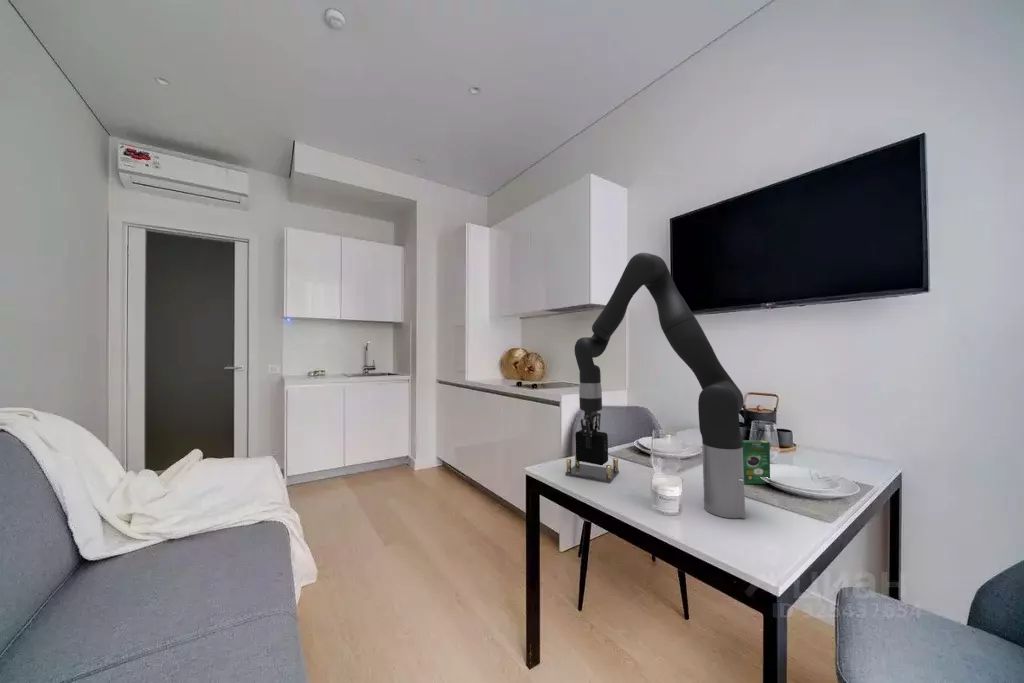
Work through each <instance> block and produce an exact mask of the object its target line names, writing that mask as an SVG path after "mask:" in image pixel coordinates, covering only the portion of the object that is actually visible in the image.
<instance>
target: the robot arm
mask: <svg viewBox="0 0 1024 683" xmlns="http://www.w3.org/2000/svg"><path fill="white" fill-rule="evenodd" d="M643 286H644V287H645V289H647V290H648V292H649V293H650V295H651V297H652V299H653V300H654V303H655V304H656V308H657V313H658V320H659V325H660V328H661V330H662V333H663V334H664V336H665V338H666V340H667V341H668V343H669V345H670V346H671V348H672V349H673V351H674V353H676V355H678V357H679V358H680V359H681V360H682V361H683V362H684V363H685V365H686V366H688V368H689V369H690V370H691V371H692V372H693V374H694V376H695V378H696V379H697V382H698V383H699V385H700V387H701V392H700V393H699V396H698V402H697V404H698V409H697V410H698V424H699V432H700V433H699V434H700V436H701V440H702V441H701V442H702V444H701V445H702V449H701V450H702V480H703V481H702V482H703V483H702V484H703V507H704V508H703V509H705V510H706V512H708V513H710V514H712V515H714V516H717V517H721V518H727V519H746V504H745V502H746V498H745V484H744V471H743V440H744V438H743V436H742V433H741V430H740V429H741V427H740V411H741V410H742V409H743V407H744V402H745V401H744V396H743V393H742V391H741V389H740V388H739V387H738V385H737V384H736V382H734V380H733V379H732V378H731V376H730V375H729V374H728V372H727V371H726V370H725V368H724V367H723V365H722V364H721V362H720V360H719V359H718V356H717V355H716V352H715V351H714V349H713V347H712V345H711V343H710V341H709V339H708V337H707V336H706V334H705V332H704V329H703V328H702V326H701V324H700V323H699V321H698V319H697V318H696V316H695V315H694V313H693V312H692V310H691V309H690V306H689V305H688V304H687V302H686V300H685V299H684V297H683V296H682V295H681V293H680V290H678V288H677V286H676V284H675V281H674V279H673V277H672V274H671V273H670V269H669V267H668V265H667V263H666V262H665V260H664V259H663V258H661V257H660V256H659V255H656V254H652V253H649V252H639V253H636V254H634V255H633V256H631V258H630V259H629V260H628V263H627V265H626V266H625V268H624V270H623V272H622V275H621V277H620V279H619V281H618V282H617V284H616V286H615V289H614V290H613V292H612V294H611V296H610V297H609V299H608V301H607V303H606V305H605V306H604V308H603V309H602V311H601V312H600V314H599V315H598V316H597V318H596V320H595V321H594V322H593V324H592V326H591V330H592V331H591V332H592V333H593V335H592V336H590V337H579V339H577V340H576V342H575V344H574V356H575V359H576V364H577V367H578V370H579V387H578V388H579V389H578V391H579V392H578V395H579V396H578V398H579V410H581V411H584V414H583V418H581V419H580V428H581V430H582V435H583V436H585V438H586V448H592V447H593V439H592V436H593V431H597V432H599V431H600V430H601V417H602V415H601V413H599V411H602V409H603V393H602V392H603V391H602V390H603V389H602V383H601V382H602V381H601V378H602V377H601V374H602V373H601V369H600V368H601V367H600V366H599V365H596V364H595V362H594V359H595V358H598V357H600V356H601V355H603V354H604V352H605V350H606V349H607V347H608V344H609V342H610V339H611V337H612V335H613V334H614V333H615V332H616V331H617V329H618V327H619V326H620V324H621V323H622V322H623V320H624V318H625V315H626V313H627V310H628V306H629V304H630V302H631V300H632V298H633V297H634V296H635V294H637V292H638V291H639V290H640V288H642V287H643ZM587 431H588V433H587Z"/></svg>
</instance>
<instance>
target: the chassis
mask: <svg viewBox="0 0 1024 683" xmlns="http://www.w3.org/2000/svg"><path fill="white" fill-rule="evenodd" d="M565 462H566V466H565V467H566V471H565V477H570V478H571V477H573V478H576V479H577V478H578V479H583V480H588V481H594V482H599V483H605V484H611V483H612V482H613V480H614V479H615V478H616V477H617V476H618V474H619V473H620V470H619V458H615V457H614V458H612V462H613V463H612V465H610V464H607V465H606V467H605V466H604V467H603V466H599V465H598V466H597V465H593V464H592V465H591V464H584V463H581V462H580V461H577V460H576V452H575V453H574V465H573V466H572V459H571V458H567V459H566V461H565ZM612 466H613V467H612Z"/></svg>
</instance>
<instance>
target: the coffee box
mask: <svg viewBox="0 0 1024 683" xmlns="http://www.w3.org/2000/svg"><path fill="white" fill-rule="evenodd" d="M743 471H744V485H767V484H766V483H765V482H764V481H763V480H762V479H761V478H760V477H768V478H770V479H771V444H770V442H769V441H767V440H761V439H759V440H757V439H756V440H751V439H750V440H748V439H743Z"/></svg>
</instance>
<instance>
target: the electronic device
mask: <svg viewBox="0 0 1024 683" xmlns="http://www.w3.org/2000/svg"><path fill="white" fill-rule="evenodd" d="M587 433H588V431H587ZM574 437H575V453H576V460H577V461H580V463H581V462H582V463H586V464H590V465H591V464H592V465H595V466H597V465H598V466H603V465H604V464H606V463H608V461H609V438H608V437H609V436H608V433H607V432H605V431H604V432H603V431H598V432H597V431H593V436H592V439H593V447H592V448H586V438H585V436H583V435H582V429H579V430H577V431H576V432H575V436H574Z"/></svg>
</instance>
